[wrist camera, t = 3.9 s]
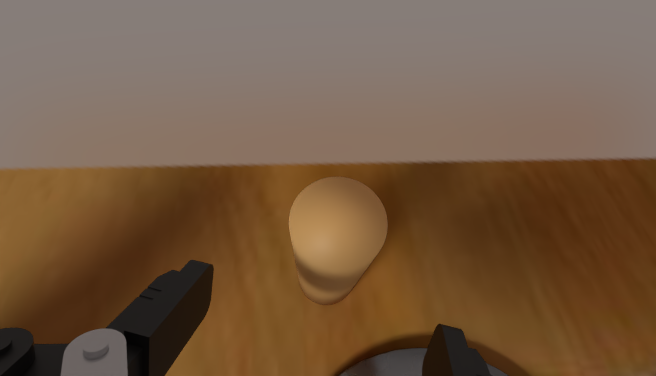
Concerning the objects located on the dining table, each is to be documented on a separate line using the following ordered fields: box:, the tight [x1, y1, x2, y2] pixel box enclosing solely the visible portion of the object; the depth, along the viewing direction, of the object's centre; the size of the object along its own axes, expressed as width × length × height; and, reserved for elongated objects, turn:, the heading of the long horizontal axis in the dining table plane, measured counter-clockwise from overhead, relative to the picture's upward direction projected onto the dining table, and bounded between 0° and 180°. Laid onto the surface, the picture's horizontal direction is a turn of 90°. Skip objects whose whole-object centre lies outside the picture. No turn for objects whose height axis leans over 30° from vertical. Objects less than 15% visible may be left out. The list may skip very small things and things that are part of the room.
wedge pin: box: [289, 177, 388, 305], centre depth 16 cm, size 3×3×10 cm
